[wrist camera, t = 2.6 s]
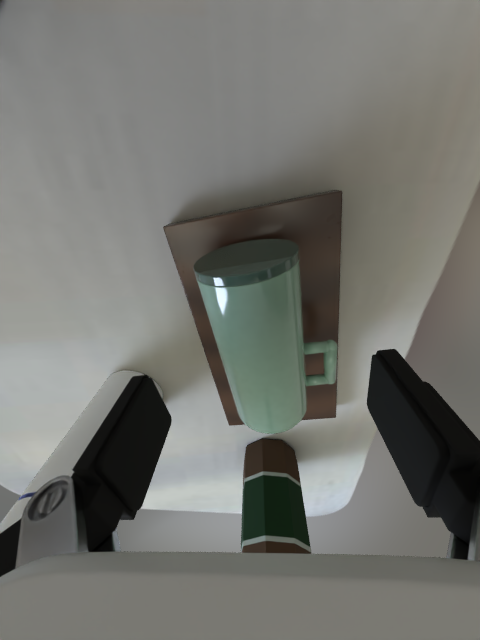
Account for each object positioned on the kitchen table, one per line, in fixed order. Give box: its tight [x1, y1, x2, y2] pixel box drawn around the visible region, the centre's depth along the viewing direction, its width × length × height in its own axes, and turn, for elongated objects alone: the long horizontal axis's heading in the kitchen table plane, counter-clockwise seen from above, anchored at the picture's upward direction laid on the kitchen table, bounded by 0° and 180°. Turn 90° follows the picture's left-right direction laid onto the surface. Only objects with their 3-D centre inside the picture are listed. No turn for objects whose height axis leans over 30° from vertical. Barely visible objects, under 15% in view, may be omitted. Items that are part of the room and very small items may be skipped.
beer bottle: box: [241, 439, 311, 554], centre depth 24 cm, size 8×8×24 cm
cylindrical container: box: [0, 370, 163, 533], centre depth 19 cm, size 7×7×25 cm
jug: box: [193, 239, 337, 434], centre depth 18 cm, size 7×9×14 cm
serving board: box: [163, 190, 342, 425], centre depth 23 cm, size 24×13×2 cm, turn 11°
